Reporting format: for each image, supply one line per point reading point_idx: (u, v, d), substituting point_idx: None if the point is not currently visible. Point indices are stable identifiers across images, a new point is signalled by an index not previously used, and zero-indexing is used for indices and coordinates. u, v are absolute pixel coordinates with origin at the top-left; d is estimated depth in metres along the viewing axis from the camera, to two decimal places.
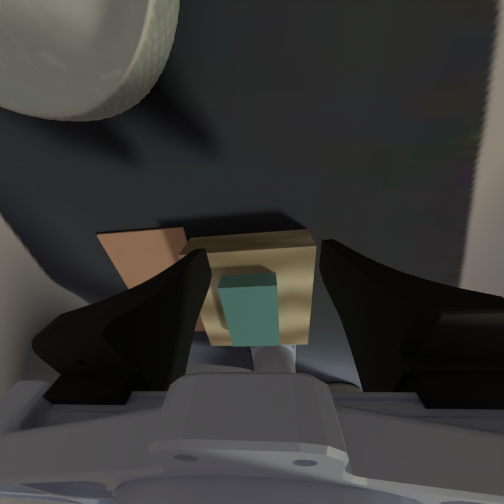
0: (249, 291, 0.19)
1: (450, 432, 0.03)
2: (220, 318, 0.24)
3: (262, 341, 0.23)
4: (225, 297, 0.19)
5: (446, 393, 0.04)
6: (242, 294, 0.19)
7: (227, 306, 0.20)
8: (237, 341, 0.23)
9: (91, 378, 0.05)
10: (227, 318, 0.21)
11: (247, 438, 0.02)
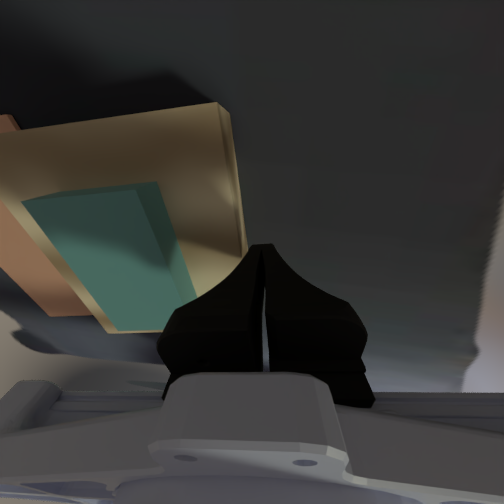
0: (87, 207, 0.09)
1: (450, 432, 0.03)
2: None
3: (161, 321, 0.13)
4: (49, 225, 0.10)
5: None
6: (78, 217, 0.09)
7: (64, 247, 0.10)
8: (120, 321, 0.13)
9: None
10: (79, 275, 0.11)
11: (247, 439, 0.02)
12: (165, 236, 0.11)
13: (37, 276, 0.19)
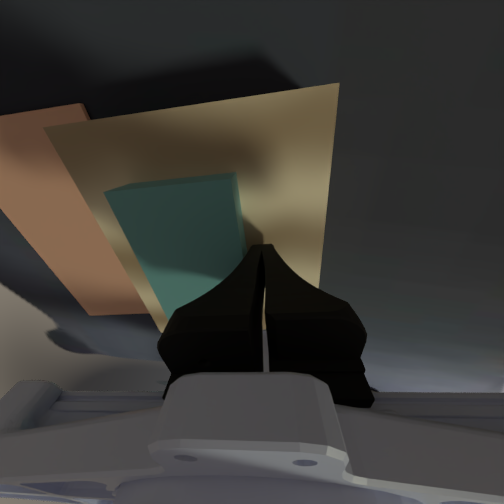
0: (173, 198, 0.08)
1: (450, 432, 0.03)
2: None
3: None
4: (127, 217, 0.09)
5: None
6: (161, 209, 0.09)
7: (138, 241, 0.10)
8: None
9: None
10: (147, 271, 0.11)
11: (247, 438, 0.02)
12: (241, 230, 0.10)
13: (83, 274, 0.19)
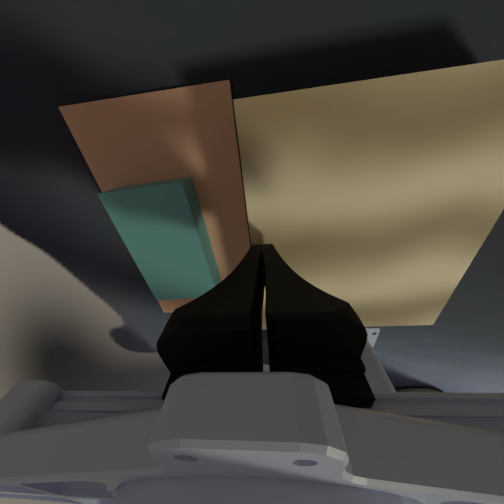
0: None
1: (450, 432, 0.03)
2: None
3: None
4: None
5: None
6: None
7: None
8: None
9: None
10: None
11: (247, 438, 0.02)
12: None
13: None
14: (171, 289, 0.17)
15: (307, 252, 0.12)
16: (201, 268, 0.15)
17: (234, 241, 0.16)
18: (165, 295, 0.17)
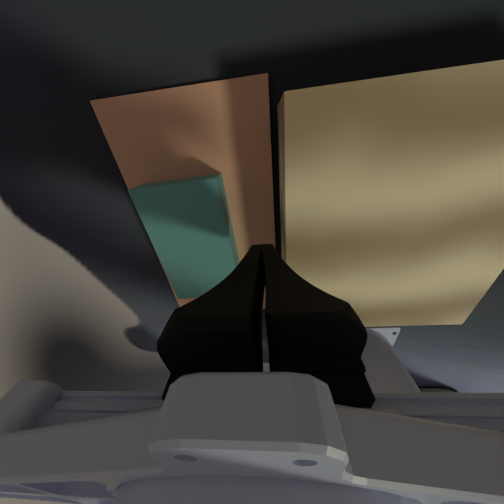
0: None
1: (450, 432, 0.03)
2: (323, 273, 0.13)
3: None
4: None
5: None
6: None
7: None
8: None
9: None
10: None
11: (247, 438, 0.02)
12: None
13: None
14: (194, 287, 0.16)
15: (343, 250, 0.12)
16: (227, 266, 0.15)
17: (259, 239, 0.16)
18: (188, 294, 0.17)
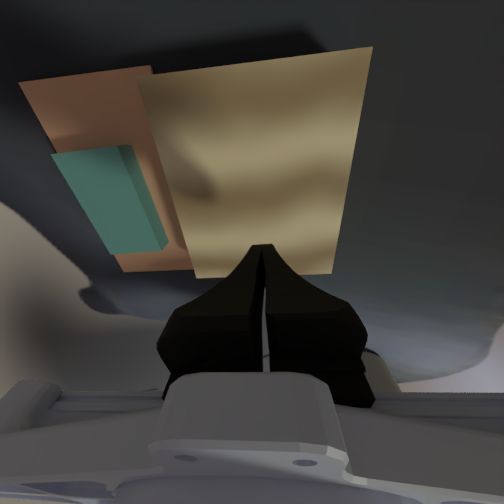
0: None
1: (450, 432, 0.03)
2: (209, 225, 0.16)
3: None
4: None
5: None
6: None
7: None
8: None
9: None
10: None
11: (247, 438, 0.02)
12: None
13: None
14: (121, 243, 0.20)
15: (216, 204, 0.15)
16: (143, 223, 0.18)
17: None
18: (117, 249, 0.20)
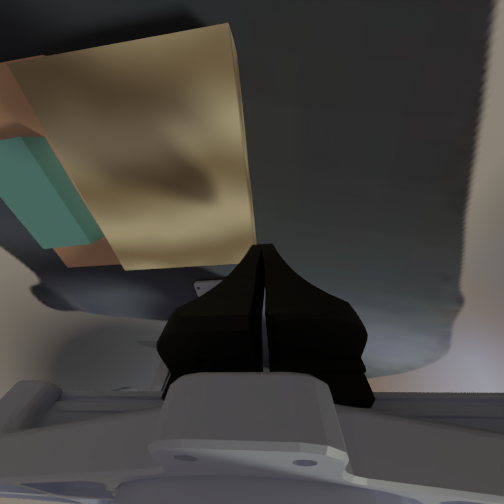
0: None
1: (450, 432, 0.03)
2: (121, 214, 0.16)
3: None
4: None
5: None
6: None
7: None
8: None
9: None
10: None
11: (247, 438, 0.02)
12: None
13: None
14: (51, 237, 0.20)
15: (122, 193, 0.15)
16: (66, 216, 0.18)
17: None
18: (48, 243, 0.20)
